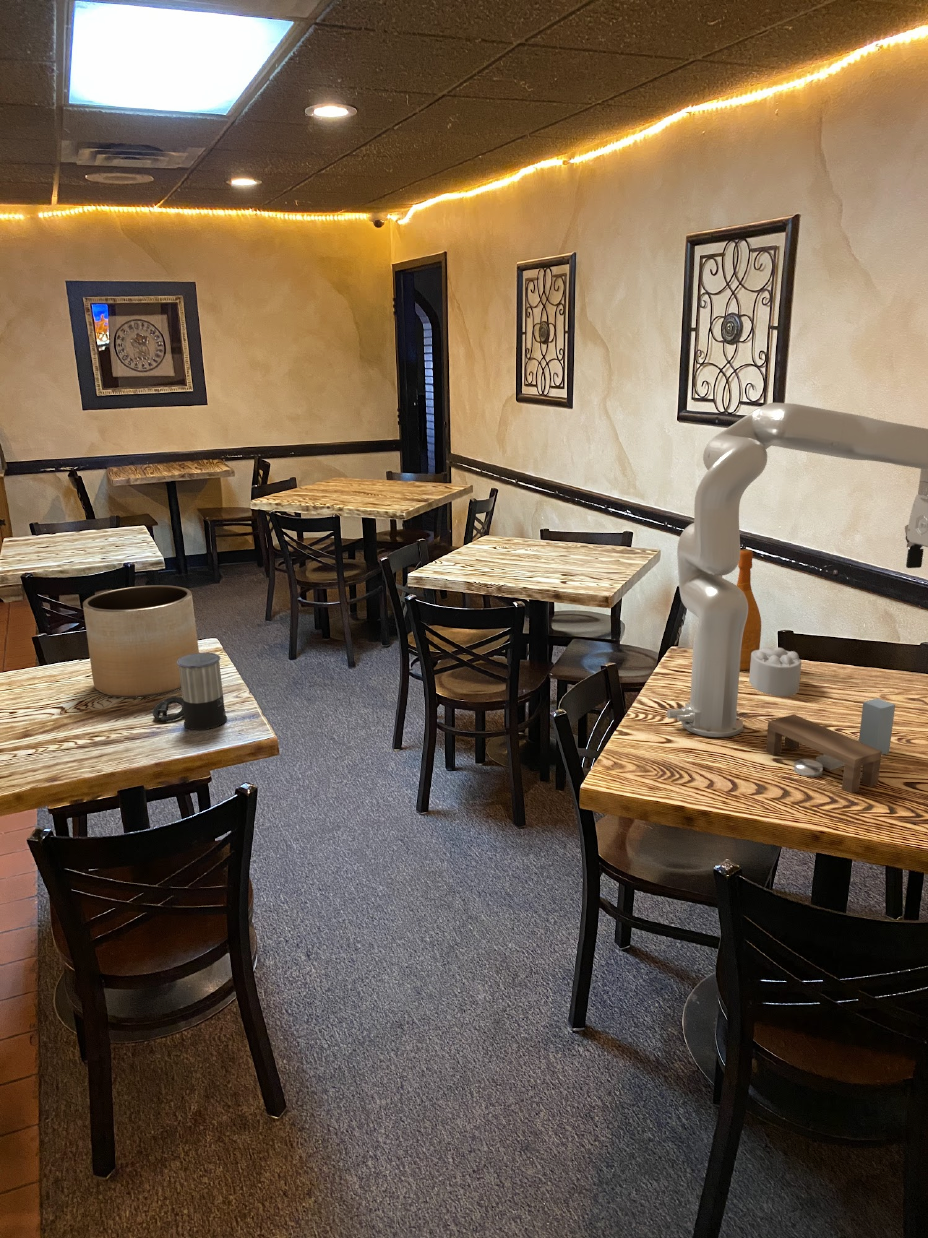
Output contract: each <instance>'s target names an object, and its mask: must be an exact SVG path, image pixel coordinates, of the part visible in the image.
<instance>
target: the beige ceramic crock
mask: <svg viewBox="0 0 928 1238" xmlns="http://www.w3.org/2000/svg"><path fill="white" fill-rule="evenodd" d="M82 608H83V615H84V621H85V622H84V623H85V629H86V638H87V644H88V645H87V646H88V653H89V654H88V655H89V662H90V669H91V676H92V682H93V686H94V688H95V689H96V690H97V691H99V692H100V693H102V694H104V695H108V696H110V697H114V698H121V697H123V699H136V698H138V697H141V698H150V697H157V696H161V694H162V695H165V693H166V694H170V693H172V692H176V691H179V690H182V689H181V680H180V672H179V665H178V664H177V660H178V659H180V658H181V657H183V656H186V655H190V654H195V653H200V650H199V645H198V644H199V641H198V640H199V639H198V636H197V635H198V634H197V625H196V619H195V618H196V617H195V611H194V602H193V593H192V591H191V590H189V589H188V588H186V587H181V586H174V585H139V586H131V587H130V586H129V587H123V588H118V589H113V590H107V591H104V592H101V593H98V594H95V595H92V596H89V597H88V598H87V599H85V600H84V601H83V602H82ZM178 689H179V690H178ZM149 696H150V697H149ZM138 699H139V698H138Z"/></svg>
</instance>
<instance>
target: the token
mask: <svg viewBox="0 0 928 1238" xmlns="http://www.w3.org/2000/svg"><path fill="white" fill-rule="evenodd" d="M793 771H794V772H795V773H796V774H798V775H800V776H803V777H809V778H816V777H818V778H819V777H820V776H822V775H823V771H824V767H823V765H822V764H821V763H819V762H817V761H816V760H813V759H808V758H802V759H797V760H795V761H794V763H793Z"/></svg>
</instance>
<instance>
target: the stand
mask: <svg viewBox="0 0 928 1238" xmlns="http://www.w3.org/2000/svg"><path fill="white" fill-rule="evenodd" d="M783 736H784V745H783V744H782V743H783ZM800 744H801V745H804V746H806V747H808V748H810V749H813V750H814V751H817V752H819V753H821V754H822V755H828V756H830V757H832V758H834V759H836V760H839V761H841V762H843V763H845V764H844V766H843V774H842V783H841V790H844V791H845V792H847V793H849V794H853V793H856V792H859V791H860V784H861V783H862V784H863V785H865V786H868V787H871V788H872V787H874V786H877V785H879V778H880V770H881V762H882V756H883V755H882V751H880V750H878V749H875V748H873V747H871V746H868V745H866V744H863V743H861V742H859V740H857V739H854V738H852V737H849V736H847V735H843V734H842V733H839V732H837V731H835V730H832V729H830V728H827V727H825V726H823V725H820V724H818V723H816V722H813V721H811V720H809V719H806V718H803V717H802V716H800V715H796V714H794V713H793V714H791V715H787V716H783V717H779V718H775V719H771V720H768V721H767V732H766V745H765V752H766V753H768V754H769V755H771V756H777V755H780V754H782V745H783V747H784V748H786V749H789V750H790V751H795V750H797V749H799V748H800Z"/></svg>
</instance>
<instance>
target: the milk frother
mask: <svg viewBox="0 0 928 1238" xmlns="http://www.w3.org/2000/svg"><path fill="white" fill-rule="evenodd" d="M220 660H221V656H220V655H219V654H218V653H214V652H199V653H195V654H190V655H186V656H183V657H181V658H180V659H178V660H177V664H178V665H179V672H180V680H181V689H180V690H181V694H182V695H181V697H179V696H171V697H167V698H166V699H164V700H161V701H160V702H159V703H157V704H156V705H155V706H154V708H153V709H152V717H153V718H154V720H157V721H161V722H172V721H177V720H178V719H181V718H182V717H183V716H184V721H183V726H185V728H186V729H189V730H195V731H196V730H197V731H201V730H202V731H205V730H209V728H211V729H214V728H213V727H215V728H217V726H218V725H220V726H222V725H223V724H222V723H224V722H225V721H226V720H228V716H227V714H226V707H225V702H224V699H225V697H224V693H223V683H222V682H223V681H222V674H221V667H220V665H221V664H220ZM171 704H178V705H180V706H181V709H180V710H179V711H178V712H177V713H174V714H172V715H168V711H169V707H170V705H171ZM226 722H227V721H226ZM226 722H225V723H226ZM225 723H224V724H225ZM221 724H222V725H221ZM218 727H219V726H218ZM204 729H205V730H204Z"/></svg>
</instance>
